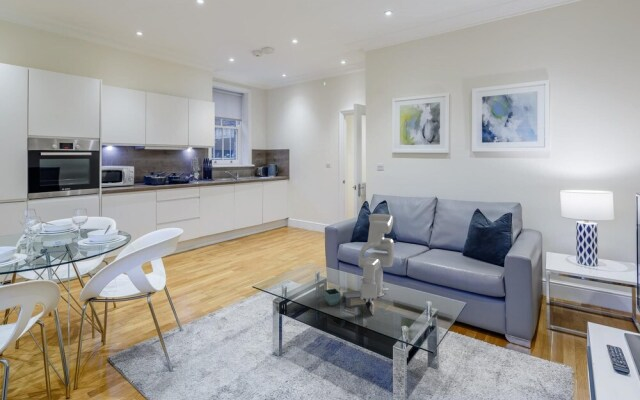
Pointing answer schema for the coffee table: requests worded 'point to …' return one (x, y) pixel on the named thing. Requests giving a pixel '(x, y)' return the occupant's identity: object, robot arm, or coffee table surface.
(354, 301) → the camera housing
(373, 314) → the side door
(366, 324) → the coffee table surface
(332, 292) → the flower pot
